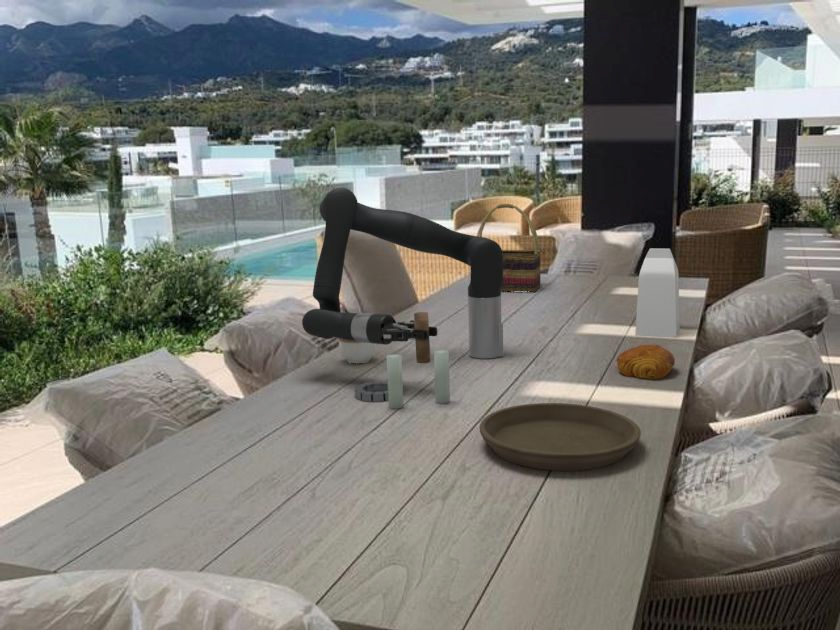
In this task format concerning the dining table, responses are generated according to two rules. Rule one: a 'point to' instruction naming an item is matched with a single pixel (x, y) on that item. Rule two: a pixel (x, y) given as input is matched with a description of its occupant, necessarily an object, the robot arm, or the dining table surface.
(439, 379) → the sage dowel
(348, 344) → the lidded jar
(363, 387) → the ring
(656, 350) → the croissant
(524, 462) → the plant saucer
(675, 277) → the milk
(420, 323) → the walnut dowel
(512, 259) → the basket
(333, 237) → the robot arm
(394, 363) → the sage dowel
